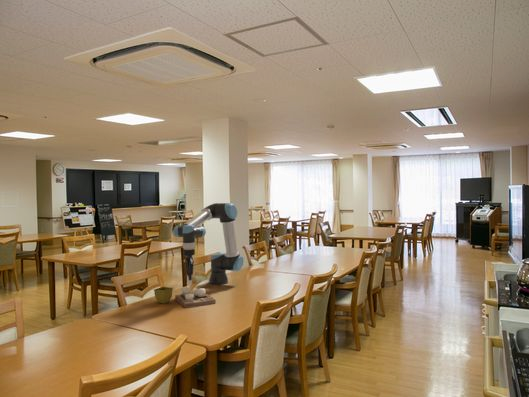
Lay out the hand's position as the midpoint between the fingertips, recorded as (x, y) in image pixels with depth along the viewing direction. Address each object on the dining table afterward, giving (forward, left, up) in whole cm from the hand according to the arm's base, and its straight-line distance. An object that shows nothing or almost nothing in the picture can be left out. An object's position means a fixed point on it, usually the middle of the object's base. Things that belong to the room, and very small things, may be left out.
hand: (189, 284), depth 256 cm
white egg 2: (-8, +8, -10) cm, 15 cm away
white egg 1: (-8, 0, -8) cm, 11 cm away
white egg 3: (0, +8, -8) cm, 11 cm away
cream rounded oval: (0, 0, -10) cm, 10 cm away
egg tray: (-1, +4, -11) cm, 12 cm away
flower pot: (-8, -15, -12) cm, 21 cm away
